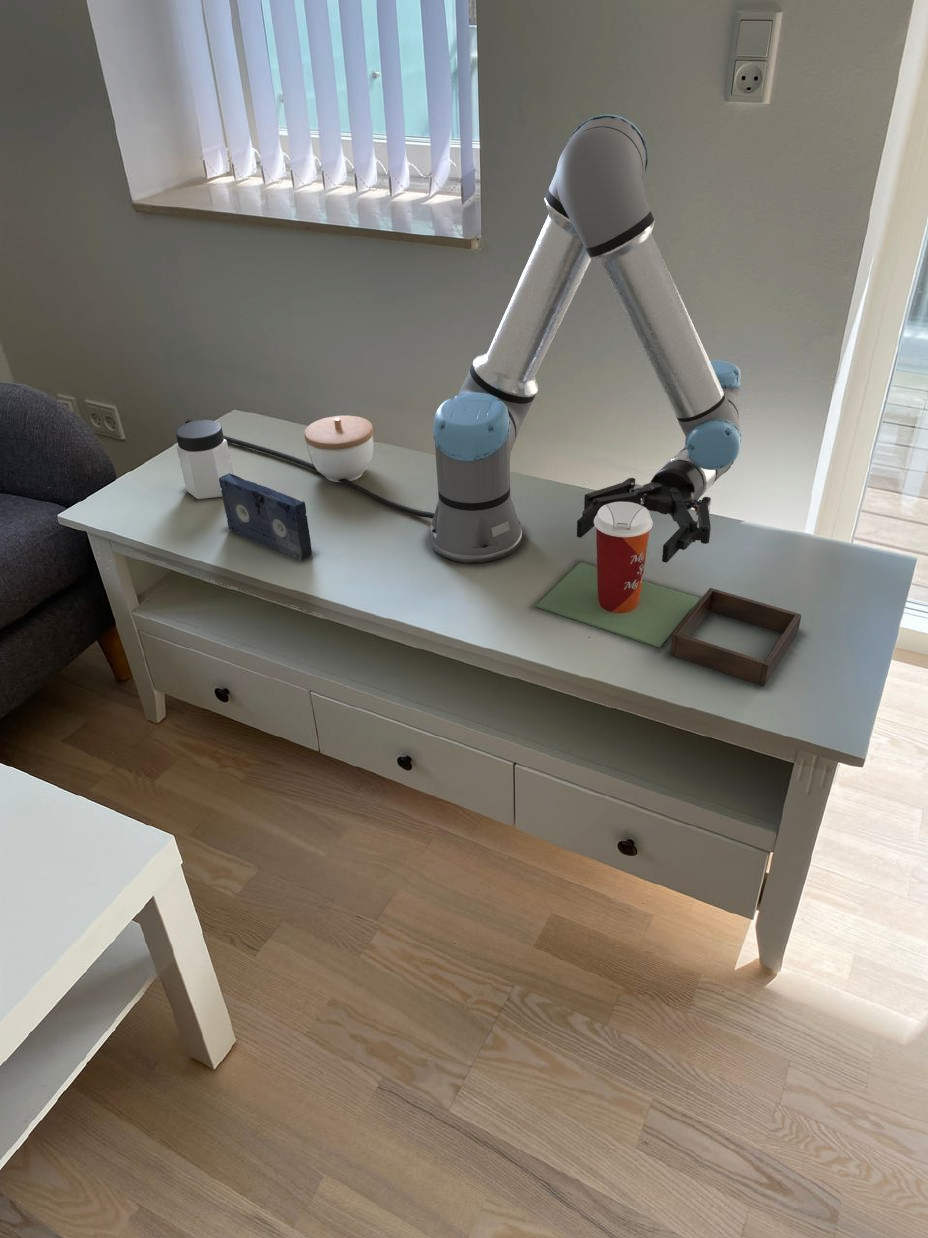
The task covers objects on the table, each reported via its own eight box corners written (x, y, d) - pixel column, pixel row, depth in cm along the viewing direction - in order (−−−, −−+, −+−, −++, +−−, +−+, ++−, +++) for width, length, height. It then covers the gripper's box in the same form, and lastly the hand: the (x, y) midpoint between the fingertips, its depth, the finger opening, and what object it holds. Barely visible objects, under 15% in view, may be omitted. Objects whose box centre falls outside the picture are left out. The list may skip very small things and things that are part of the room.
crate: (669, 654, 135) (671, 634, 133) (707, 607, 144) (710, 587, 141) (764, 686, 128) (768, 665, 126) (797, 634, 137) (801, 614, 135)
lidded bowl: (318, 458, 190) (311, 405, 183) (382, 459, 188) (377, 405, 182) (303, 489, 180) (295, 433, 173) (370, 489, 178) (364, 433, 172)
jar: (236, 476, 185) (224, 417, 178) (234, 496, 178) (222, 435, 171) (188, 481, 184) (174, 422, 177) (185, 501, 177) (171, 440, 170)
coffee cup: (645, 619, 141) (652, 529, 132) (588, 615, 143) (591, 526, 134) (647, 588, 148) (654, 500, 139) (593, 584, 149) (596, 497, 141)
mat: (535, 607, 145) (535, 605, 145) (580, 563, 155) (580, 562, 155) (659, 648, 136) (660, 646, 136) (699, 599, 145) (699, 597, 145)
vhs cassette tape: (313, 555, 160) (305, 501, 154) (300, 562, 158) (291, 508, 153) (241, 522, 170) (231, 471, 164) (228, 529, 168) (217, 478, 163)
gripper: (756, 522, 150) (700, 587, 136) (610, 484, 162) (545, 541, 148) (762, 478, 145) (706, 541, 131) (612, 443, 157) (545, 497, 143)
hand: (620, 541), depth 139 cm, fingers open, 13 cm apart
